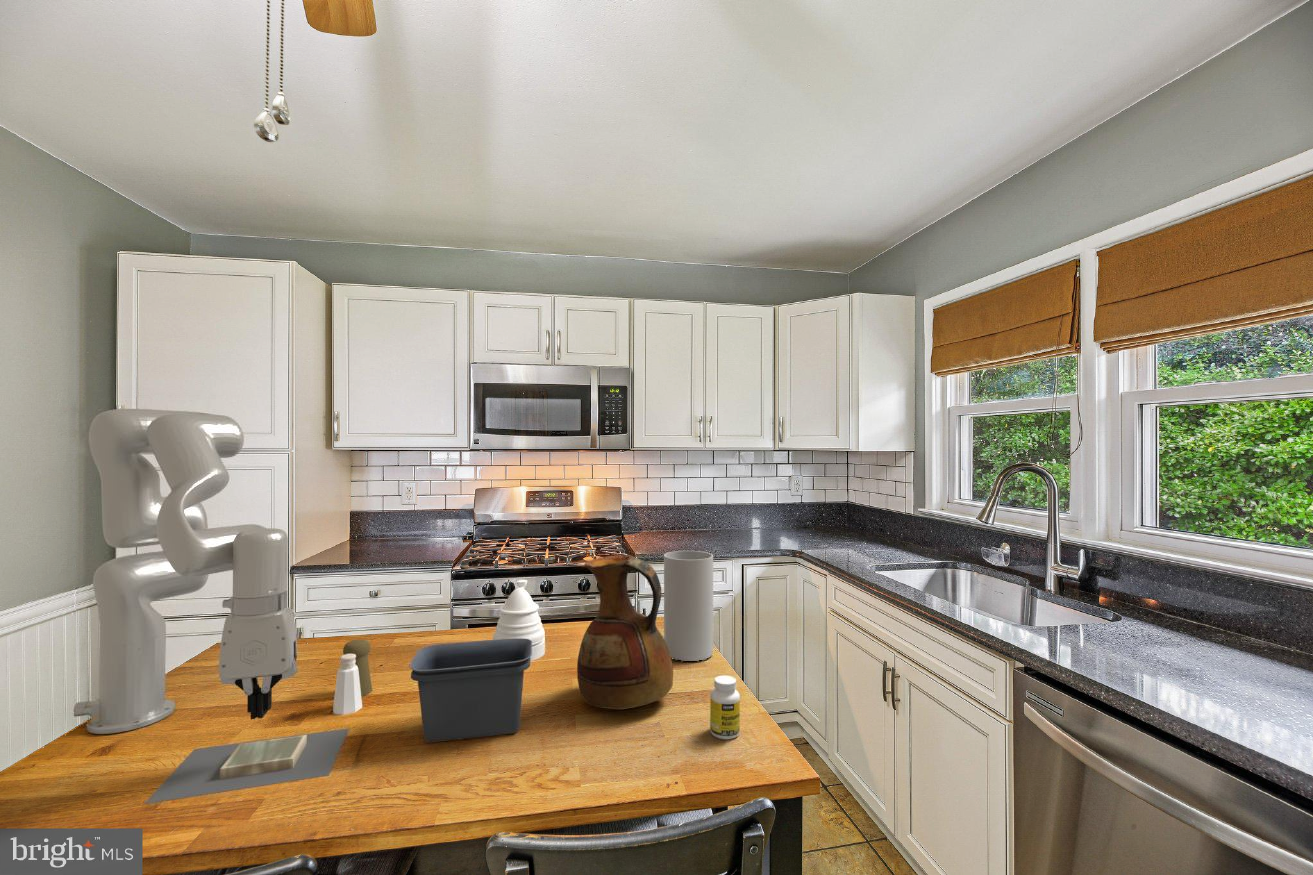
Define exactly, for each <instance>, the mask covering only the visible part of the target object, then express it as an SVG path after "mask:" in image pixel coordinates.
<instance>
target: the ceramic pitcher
mask: <svg viewBox="0 0 1313 875" xmlns="http://www.w3.org/2000/svg"><path fill="white" fill-rule="evenodd" d="M584 566H585V567H586V569H588V570H589V571H590V572H591V573H592V575H593V576H594V577H595V580H596V583H597V589H598V593H599V609H598V614H597V615H596V617H595V618H594V619H593V620H592V621H591V622H590V623H589V625H588V626H587V629H586V630H585V632H584V635H583V636H582V639H581V643H580V647H579V652H578V656H577V664H576V666H577V667H576V669H577V670H576V672H577V673H576V676H577V683H578V684H577V685H578V690H579V693H580V695H581V697H582V699H583V701H585V703H587V704H589V705H590V706H592V707H596V708H601V709H610V710H611V709H612V710H613V709H615V710H626V709H630V708H632V709H633V708H636V707H642V706H645V705H649V704H651V703H653V702H658V701H661V699H663V698H664V697H665V696H667V695H668V693H670V691H671V690H672V688H673V686H674V666H673V661H672V659H671V656H670V652H669V649H668V647H667V644H666V642H665V640H664V636H663V635H662V633H661V632H660V630H659V629H658V627H657V625H656V624H657V623H656V622H657V616H658V613H659V608H660V605H661V602H662V601H661V599H662V586H661V582H660V579H659V575H658V573H657V572H656V570H655V569H654V568H653V567H652V566H651V565H650V564H649V563H648V562H646V561H645V560H643V559H640V558H637V557H635V556H634V555H630V554H625V555H621V554H617V555H608V556H601V557H599V558H594V559H589V560H588V561H585V562H584ZM630 570H633V571H635V572H638V573H639V574H640V575H642V576H643V577H644V579H646V580H647V582H648V584H649V585H650V589H651V592H652V605H651V610H650V612H649V614H648V615H645V614H643V613H640V612H639V611H637V609H635V608H634V606H633V604H632V601H631V600H630V594H629V590H628V574H629V571H630Z"/></svg>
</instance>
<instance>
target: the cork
mask: <svg viewBox="0 0 1313 875" xmlns="http://www.w3.org/2000/svg"><path fill="white" fill-rule="evenodd" d="M370 652H371V644H370V642H369V641H368V640H367V639H362V638H361V639H360V638H359V639H354V640H351V641H348V642H346V643H345V644H344V646H343V648H342V654H343V655H345V654H355V655H356V658H355V665H356V666H357V667H358V671H359V680H360V689H361V698H362V697H366V696H368V695H369V694H371V692H372V691H373V687H372V686H373V685H372V679H371V678H372V677H371V673H370V666H369V665H370V664H369V658H368V655H369V653H370Z"/></svg>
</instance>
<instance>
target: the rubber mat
mask: <svg viewBox="0 0 1313 875" xmlns="http://www.w3.org/2000/svg"><path fill="white" fill-rule="evenodd" d="M349 731H350V727H348V728H340V729H333V730H325V731H317V732H310V733H303V734H302V733H301V734H297V735H289V736H281V737H273V738H266V739H260V740H259V739H258V740H252V741H245V742H237V743H231V744H230V743H229V744H222V745H214V746H208V747H200V748H194V749H193V750H192V751H191V752H190V753H189V754H188V756H187V757H186V758H185V759H184V760H183V761H182V762H181V763H180V764H179V765H178V766H177V768H175V770H173V772H172V773H171V774H170V775H169V776H168V777H167V778H166V779H165V781H163V783H162V784H161V785H160V786H159V787H158V788H157V789H156V790H155V791H154V792H153V793H152V794H151V796H150V797H149V798H148V799H147V800H146V801H145V802H144V803H143V805H148V804H150V805H151V804H155V803H160V802H168V801H175V800H182V799H187V798H193V797H199V796H207V795H212V794H213V795H214V794H221V793H227V792H231V791H232V792H233V791H239V790H246V789H251V788H258V787H264V786H272V785H278V784H283V783H285V784H286V783H289V782H296V781H304V780H310V779H315V778H316V779H317V778H321V777H327V776H330V774H331V771H332V770H333V768H334V767H333V766H335V765H334V764H335V763H336V760H337V758H338V755H339V753H340V750H341V749H342V746H343V744H344V742H345V740H346V737H347V735H348V733H349ZM301 735H307V744H306V746H305V748H304V750H303V751H302V753H301V755H300V757H299V758H298V760H297V762H296V764H295V766H294V767H293V768H292V769H285V770H278V771H272V772H265V773H258V774H252V775H245V776H238V777H232V778H225V779H220V768H221V767H222V766H223V765H224V763H225V762H226V761H227V760H228V758H229V757H230V756H231V754H232V753H233V752H234V751H235V749H236V748H237V747H238V746H239V744H242V743H249V742H257V741H264V740H272V739H279V738H286V737H294V736H301Z"/></svg>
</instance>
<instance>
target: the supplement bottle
mask: <svg viewBox="0 0 1313 875" xmlns="http://www.w3.org/2000/svg"><path fill="white" fill-rule="evenodd" d="M713 684H714V688H713V689H712V691H710V698H709V700H710V704H709V705H710V710H709V712H710V715H709V717H710V719H709V720H710V721H709V723H710V724H709V731H710V733H711V735H712V736H714V737H715V738H718V739H719V740H732V739H734V738H737V737H738V736H739V735H740V729H741V724H740V722H741V720H740V719H741V718H740V717H741V713H740V712H741V695H740V693H739V691H738V690H737V678H735V677H734V676H731V675H719V676H716V677H714V682H713Z"/></svg>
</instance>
